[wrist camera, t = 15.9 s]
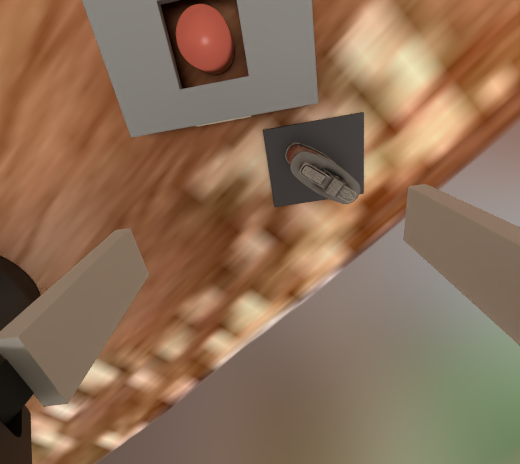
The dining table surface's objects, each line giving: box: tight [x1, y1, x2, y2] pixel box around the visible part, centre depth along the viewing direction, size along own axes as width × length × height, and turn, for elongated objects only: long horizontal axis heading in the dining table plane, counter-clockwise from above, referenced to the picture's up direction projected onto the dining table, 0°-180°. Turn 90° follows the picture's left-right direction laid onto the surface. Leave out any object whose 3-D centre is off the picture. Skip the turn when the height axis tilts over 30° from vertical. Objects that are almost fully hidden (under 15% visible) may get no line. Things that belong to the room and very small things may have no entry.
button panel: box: [82, 0, 318, 137], centre depth 27 cm, size 20×14×5 cm
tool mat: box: [263, 113, 364, 207], centre depth 34 cm, size 12×10×1 cm
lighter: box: [285, 142, 361, 204], centre depth 29 cm, size 8×3×10 cm, turn 60°
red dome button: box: [176, 4, 235, 75], centre depth 26 cm, size 5×5×5 cm
